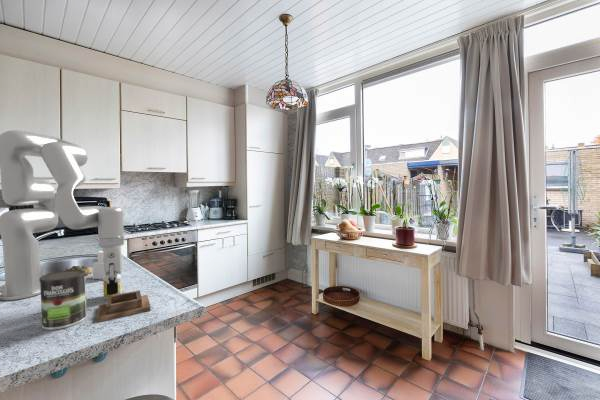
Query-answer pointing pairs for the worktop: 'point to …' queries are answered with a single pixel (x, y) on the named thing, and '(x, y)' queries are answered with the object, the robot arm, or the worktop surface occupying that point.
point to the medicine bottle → (99, 267)
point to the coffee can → (63, 299)
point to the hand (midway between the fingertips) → (112, 290)
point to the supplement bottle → (106, 285)
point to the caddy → (123, 305)
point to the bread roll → (86, 269)
